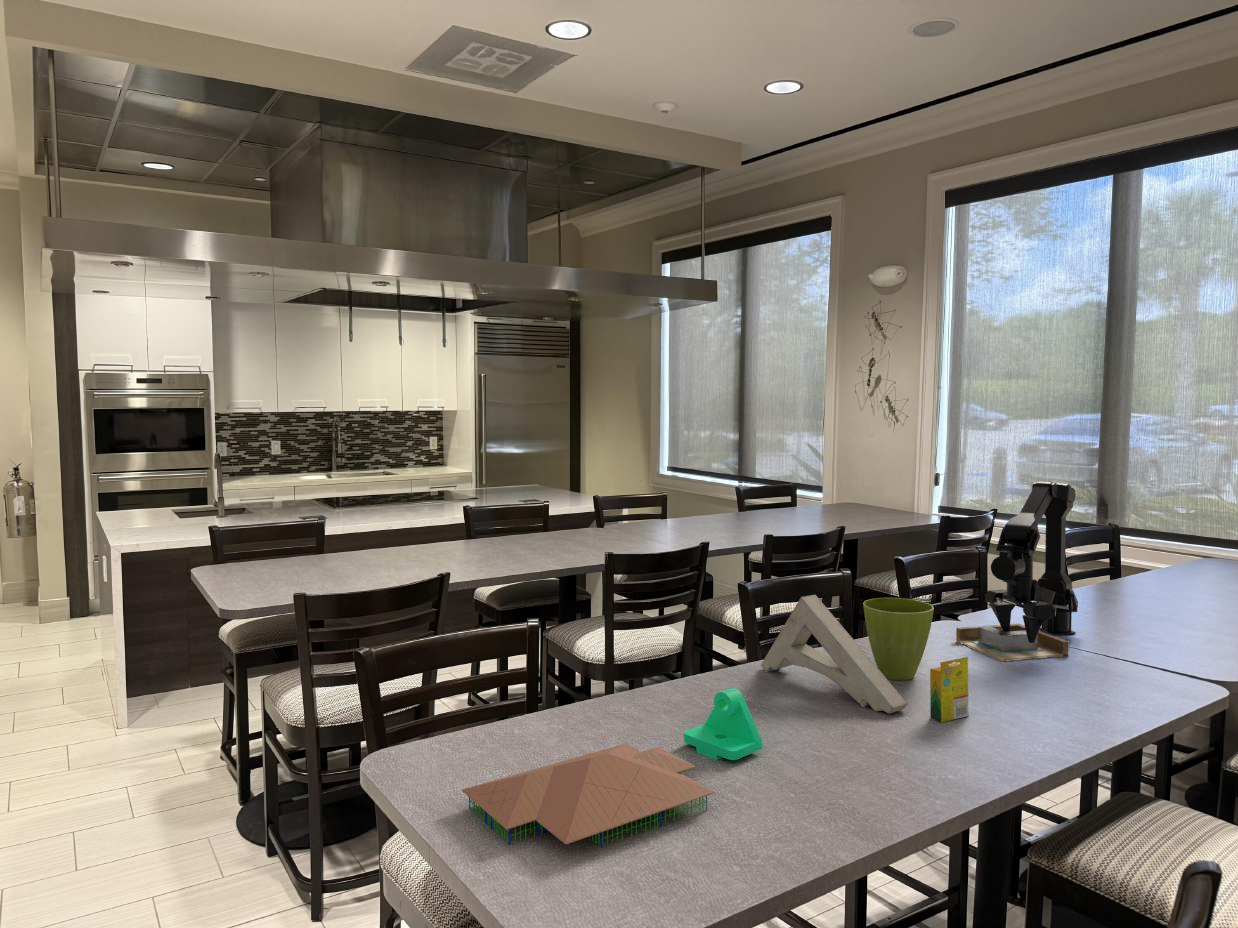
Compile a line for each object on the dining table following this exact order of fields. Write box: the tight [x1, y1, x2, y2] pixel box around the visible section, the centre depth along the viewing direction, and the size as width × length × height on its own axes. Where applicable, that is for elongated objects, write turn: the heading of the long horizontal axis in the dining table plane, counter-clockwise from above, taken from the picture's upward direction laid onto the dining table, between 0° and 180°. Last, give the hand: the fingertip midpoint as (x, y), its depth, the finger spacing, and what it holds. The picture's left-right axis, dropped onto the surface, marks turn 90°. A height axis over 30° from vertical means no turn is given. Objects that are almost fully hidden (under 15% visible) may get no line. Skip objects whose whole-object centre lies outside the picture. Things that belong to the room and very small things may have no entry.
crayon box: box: [929, 656, 969, 724], centre depth 161 cm, size 7×3×12 cm, turn 115°
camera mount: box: [683, 687, 763, 761], centre depth 147 cm, size 12×8×10 cm, turn 42°
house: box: [461, 743, 716, 849], centre depth 126 cm, size 23×33×8 cm
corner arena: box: [955, 623, 1070, 662], centre depth 208 cm, size 18×18×4 cm
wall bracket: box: [760, 594, 908, 715], centre depth 178 cm, size 22×4×30 cm
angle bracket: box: [978, 625, 1038, 652], centre depth 207 cm, size 10×9×4 cm
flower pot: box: [862, 597, 935, 681], centre depth 187 cm, size 15×15×16 cm
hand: (1018, 637), depth 205 cm, fingers open, 9 cm apart
